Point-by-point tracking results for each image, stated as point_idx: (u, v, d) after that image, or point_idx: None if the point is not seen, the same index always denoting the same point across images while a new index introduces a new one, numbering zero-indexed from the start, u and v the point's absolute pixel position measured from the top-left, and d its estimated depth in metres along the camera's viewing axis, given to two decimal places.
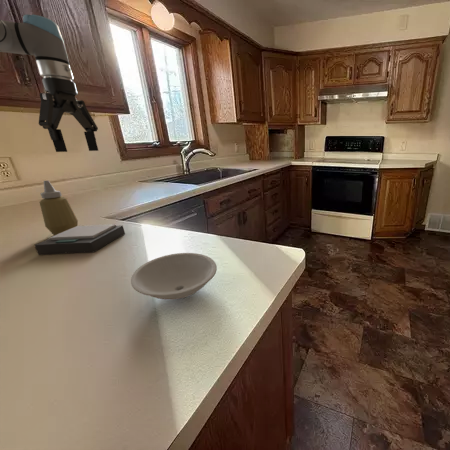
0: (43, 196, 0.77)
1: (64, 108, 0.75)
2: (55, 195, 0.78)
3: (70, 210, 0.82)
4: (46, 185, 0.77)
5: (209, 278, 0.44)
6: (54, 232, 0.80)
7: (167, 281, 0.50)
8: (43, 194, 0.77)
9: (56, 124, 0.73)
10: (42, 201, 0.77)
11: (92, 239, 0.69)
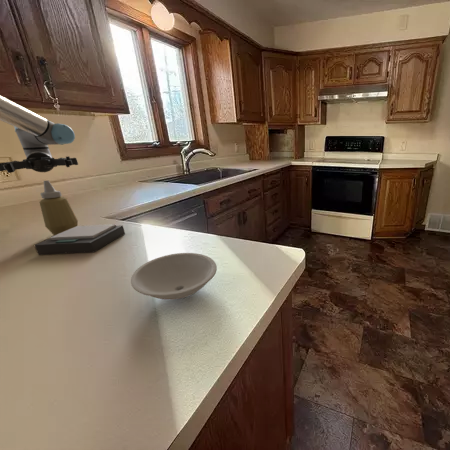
0: (43, 196, 0.77)
1: (53, 166, 0.93)
2: (55, 195, 0.78)
3: (70, 210, 0.82)
4: (46, 185, 0.77)
5: (209, 278, 0.44)
6: (54, 232, 0.80)
7: (167, 281, 0.50)
8: (43, 194, 0.77)
9: None
10: (42, 201, 0.77)
11: (92, 239, 0.69)
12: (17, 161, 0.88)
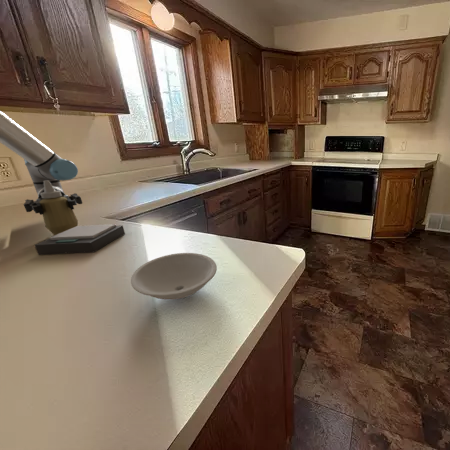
0: (43, 196, 0.77)
1: None
2: (55, 195, 0.78)
3: (70, 210, 0.82)
4: (46, 185, 0.77)
5: (209, 278, 0.44)
6: (54, 232, 0.80)
7: (167, 281, 0.50)
8: (43, 194, 0.77)
9: None
10: (42, 201, 0.77)
11: (92, 239, 0.69)
12: (32, 200, 0.83)
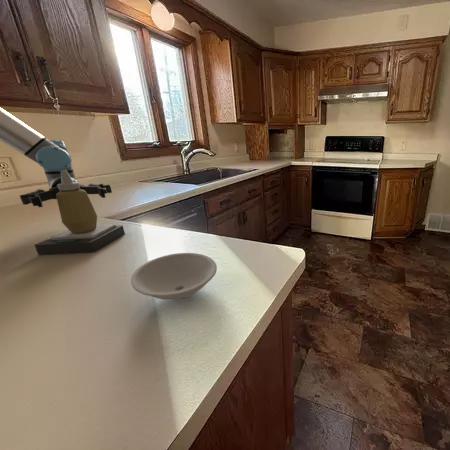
0: (60, 188, 0.68)
1: None
2: (73, 187, 0.69)
3: (89, 204, 0.72)
4: (63, 175, 0.68)
5: (209, 278, 0.44)
6: (72, 229, 0.71)
7: (167, 281, 0.50)
8: (60, 185, 0.67)
9: None
10: (59, 193, 0.68)
11: (92, 239, 0.69)
12: (42, 190, 0.74)
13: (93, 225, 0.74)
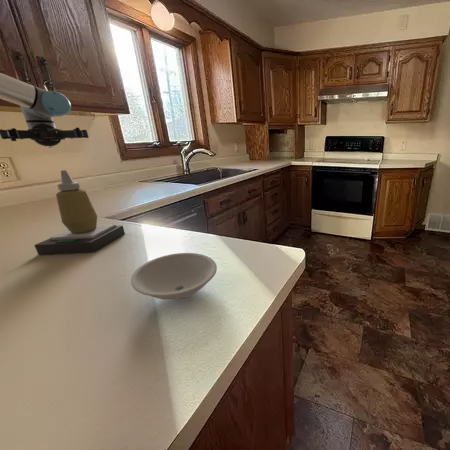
0: (60, 188, 0.68)
1: (61, 139, 0.84)
2: (73, 187, 0.69)
3: (89, 204, 0.72)
4: (64, 175, 0.68)
5: (209, 278, 0.44)
6: (72, 229, 0.71)
7: (167, 281, 0.50)
8: (60, 185, 0.67)
9: None
10: (59, 193, 0.68)
11: (92, 239, 0.69)
12: None
13: (93, 225, 0.74)
